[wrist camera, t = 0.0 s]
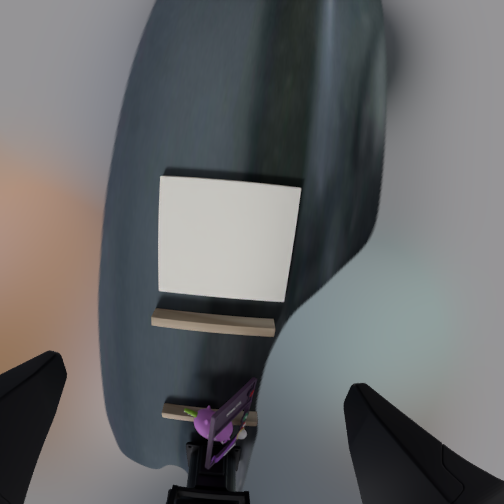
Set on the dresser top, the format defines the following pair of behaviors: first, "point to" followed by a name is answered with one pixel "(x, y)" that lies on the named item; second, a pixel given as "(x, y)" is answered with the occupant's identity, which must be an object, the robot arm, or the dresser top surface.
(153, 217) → the dresser top surface
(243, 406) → the game card
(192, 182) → the pad
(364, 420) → the robot arm
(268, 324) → the rails
